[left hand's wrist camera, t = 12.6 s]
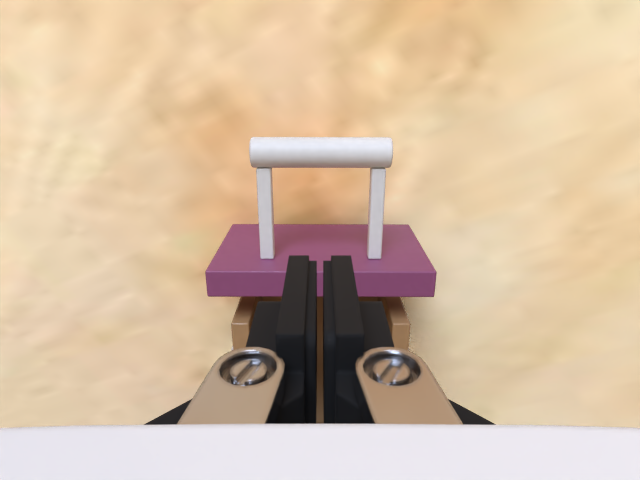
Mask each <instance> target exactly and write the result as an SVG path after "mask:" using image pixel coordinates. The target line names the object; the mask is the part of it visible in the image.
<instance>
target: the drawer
mask: <svg viewBox="0 0 640 480" xmlns="http://www.w3.org/2000/svg"><path fill="white" fill-rule="evenodd" d="M249 152H250V163H251V166H252V167H258V168H257V169H256V174H257V195H258V216H259V224H233V225H232V227H231V228H230V230H229V232H228V234H227V235H226V237H225V239H224V240H223V242H222V244H221V246H220V247H219V249H218V251H217V253H216V254H215V256H214V258H213V259H212V261H211V263H210V265H209V266H208V268H207V270H206V272H205V273H206V284H207V295H208V296H240V297H241V298H240V301H239V304H238V307H237V310H236V312H235V315H234V318H233V321H232V324H231V326H232V340H233V350H236V349H240V348H245V347H246V343H247V339H248V336H249V332H250V328H251V325H252V321H253V317H254V314H255V310H256V306H257V303H258V301H281V299H282V293H283V287H284V282H285V276H286V270H287V264H288V258H289V255H309V261H317V409H316V424H324V409H323V261H331V255H351V258H352V264H353V270H354V276H355V282H356V287H357V293H358V299H359V301H382V303H383V306H384V310H385V314H386V317H387V321H388V325H389V328H390V332H391V336H392V340H393V343H394V347H395V348H400V349H404V350H407V351H408V345H409V333H410V323H409V320H408V317H407V314H406V311H405V309H404V306H403V303H402V300H401V298H400V297H434V292H435V282H436V271H435V269H434V267H433V265H432V264H431V262H430V260H429V259H428V257H427V255H426V254H425V252H424V250H423V248H422V247H421V245H420V243H419V242H418V240H417V238H416V237H415V235H414V233H413V231H412V230H411V228H410V226H409V225H383V216H384V197H385V178H386V169H385V168H389V167H391V164H392V158H393V143H392V139H391V138H390V137H252V138H251V140H250V148H249ZM272 168H370V190H369V214H368V225H310V224H274V215H273V186H272Z"/></svg>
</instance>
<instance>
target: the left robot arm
mask: <svg viewBox="0 0 640 480" xmlns="http://www.w3.org/2000/svg"><path fill="white" fill-rule="evenodd" d="M316 409H317V261H309V255H289V258H288V264H287V270H286V276H285V282H284V287H283V293H282V299H281V301H258V303H257V306H256V310H255V314H254V317H253V321H252V325H251V328H250V332H249V336H248V339H247V343H246V347H245V348H240V349H236V350H233V351H230V352H228V353H226V354H224V355H223V356H221V357H220V358H219V359H218V360H217V361H216V362H215V363H214V364H213V366H212V368H211V369H210V371H209V373H208V374H207V376H206V377H205V379H204V381H203V382H202V384H201V386H200V387H199V389H198V390H197V392H196V394H195V395H194V397H193V399H191V400H189V401H187V402H186V403H184V404H182V405H180V406H178V407H176V408H174V409H172V410H171V411H169V412H167V413H165V414H163V415H161V416H159V417H157V418H156V419H154V420H152V421H150V422H148V423H146V424H144V425H89V426H49V427H19V428H0V480H640V428H625V427H589V426H554V425H496V424H494V423H492V422H490V421H488V420H486V419H484V418H483V417H481V416H479V415H477V414H475V413H473V412H471V411H469V410H468V409H466V408H464V407H462V406H460V405H458V404H456V403H454V402H453V401H451V400H449V399H447V397H446V395H445V394H444V392H443V390H442V389H441V387H440V386H439V384H438V382H437V381H436V379H435V377H434V376H433V374H432V373H431V371H430V369H429V368H428V366H427V364H426V363H425V362H424V361H423V360H422V359H421V358H420V357H419V356H417V355H416V354H414V353H412V352H410V351H407V350H404V349H400V348H395V347H394V343H393V340H392V336H391V332H390V328H389V325H388V321H387V317H386V314H385V310H384V306H383V303H382V301H359V299H358V293H357V287H356V282H355V276H354V270H353V264H352V258H351V255H331V261H323V409H324V424H316Z"/></svg>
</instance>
